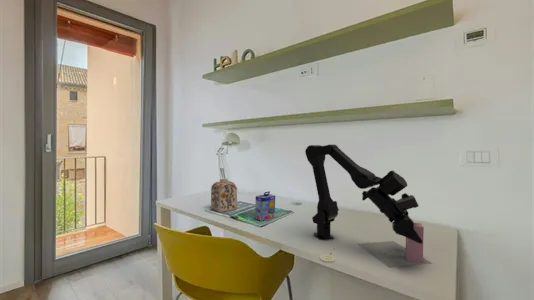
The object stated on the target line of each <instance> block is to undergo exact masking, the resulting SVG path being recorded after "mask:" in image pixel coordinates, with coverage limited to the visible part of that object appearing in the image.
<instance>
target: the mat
mask: <svg viewBox="0 0 534 300" xmlns="http://www.w3.org/2000/svg"><path fill="white" fill-rule="evenodd" d="M357 245H358V246H359V247H361V248H362V249H364V251H366V252H368V253H369V254H371V255H372V256H373V257H374V258H375V259H377V260H379V261H380V262H381V263H383V264H384V265H385V266H387V267H388V268H398V267H399V268H401V267H409V266H418V265H419V266H420V265H429V264H432V262H431V261H430V260H428V259H426V258H425V257H423V263H417V262H410V261H407V259H406V256H405V252H406V246H403V245H401V244H400V243H398V242H396V241H394V240H388V241H378V242H377V241H375V242H365V243H364V242H361V243H357Z"/></svg>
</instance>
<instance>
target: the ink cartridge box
mask: <svg viewBox="0 0 534 300" xmlns="http://www.w3.org/2000/svg"><path fill="white" fill-rule="evenodd" d="M270 193H271V191H265V192H263V194H260V195H256V196H255V211H254V213H255V217H254V219H256V220H257V219H258V220H257V221H259V220H260V221H259V222H264V221H263V220H265V221H267V220H268V221H269V220H272V219H271V218H273V219H275V218H276V217H275V216H276V215H275V214H276V213H275V212H276V195H274V194H270ZM274 217H275V218H274Z"/></svg>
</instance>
